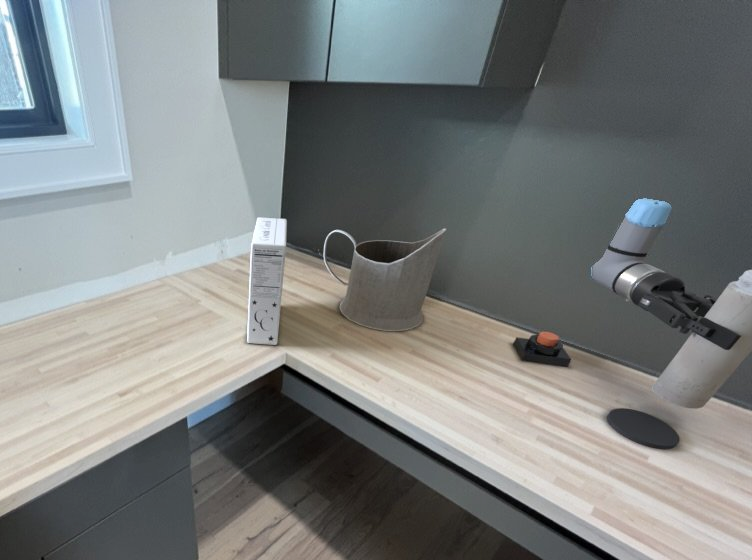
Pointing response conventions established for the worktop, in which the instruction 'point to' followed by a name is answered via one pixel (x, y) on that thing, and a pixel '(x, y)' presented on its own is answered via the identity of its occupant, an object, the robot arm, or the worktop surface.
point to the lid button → (547, 339)
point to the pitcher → (389, 281)
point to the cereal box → (266, 280)
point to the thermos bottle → (710, 351)
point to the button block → (541, 352)
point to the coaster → (643, 428)
